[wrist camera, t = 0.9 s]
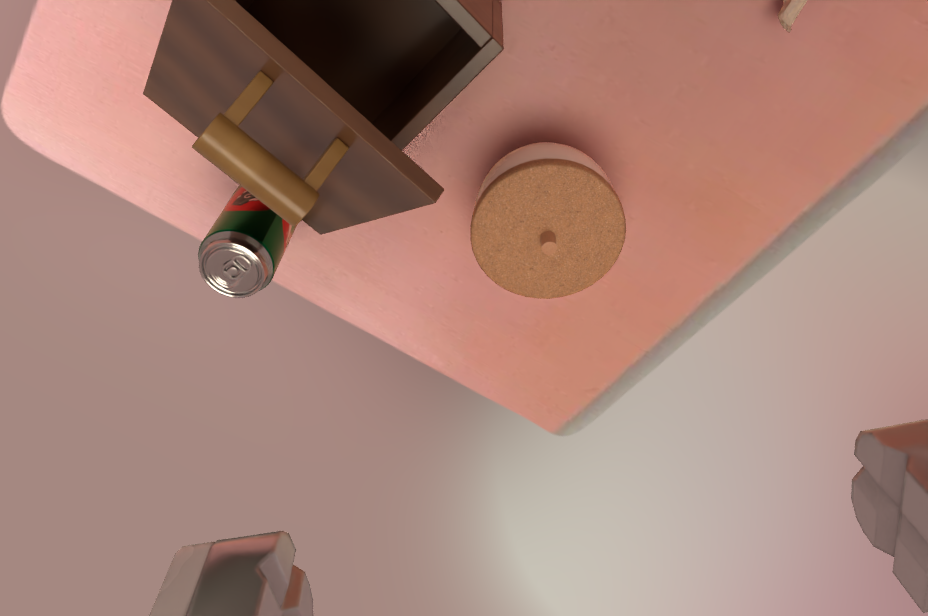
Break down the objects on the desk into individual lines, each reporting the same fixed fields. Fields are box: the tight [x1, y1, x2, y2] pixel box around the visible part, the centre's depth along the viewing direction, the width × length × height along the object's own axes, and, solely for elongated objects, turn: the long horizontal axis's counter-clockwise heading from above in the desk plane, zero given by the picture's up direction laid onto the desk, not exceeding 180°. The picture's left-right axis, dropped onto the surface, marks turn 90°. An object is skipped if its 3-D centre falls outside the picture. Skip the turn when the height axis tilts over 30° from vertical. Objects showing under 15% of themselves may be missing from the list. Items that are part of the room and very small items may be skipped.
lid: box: [143, 0, 444, 234], centre depth 35 cm, size 17×13×5 cm
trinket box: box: [471, 142, 626, 299], centre depth 52 cm, size 11×11×9 cm
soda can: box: [198, 185, 297, 298], centre depth 52 cm, size 5×5×12 cm
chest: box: [235, 0, 504, 151], centre depth 45 cm, size 16×13×11 cm
